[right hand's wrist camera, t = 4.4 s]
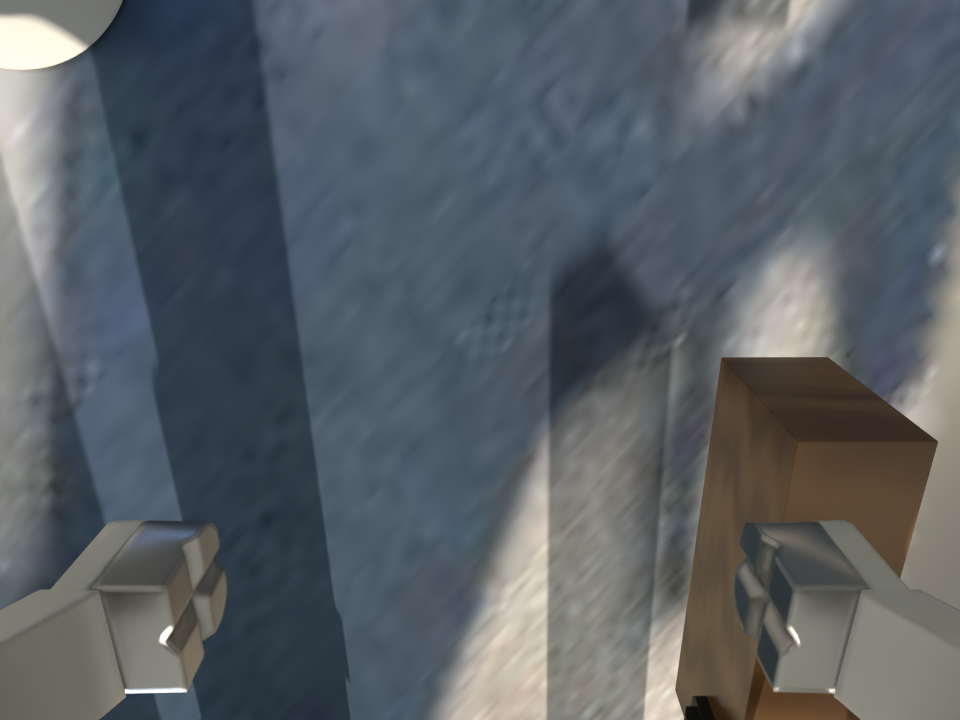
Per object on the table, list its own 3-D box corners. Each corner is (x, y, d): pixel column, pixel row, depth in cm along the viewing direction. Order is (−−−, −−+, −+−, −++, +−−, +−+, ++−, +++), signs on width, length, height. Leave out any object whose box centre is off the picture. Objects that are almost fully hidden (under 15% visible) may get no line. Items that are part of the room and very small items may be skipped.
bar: (721, 357, 34) (798, 441, 26) (828, 357, 34) (938, 441, 26) (675, 690, 42) (722, 834, 34) (761, 689, 42) (829, 834, 34)
